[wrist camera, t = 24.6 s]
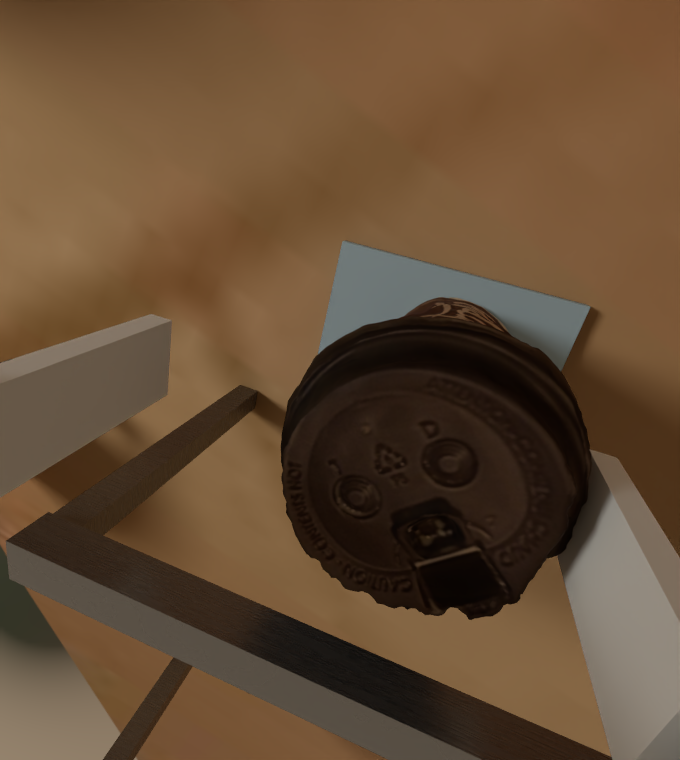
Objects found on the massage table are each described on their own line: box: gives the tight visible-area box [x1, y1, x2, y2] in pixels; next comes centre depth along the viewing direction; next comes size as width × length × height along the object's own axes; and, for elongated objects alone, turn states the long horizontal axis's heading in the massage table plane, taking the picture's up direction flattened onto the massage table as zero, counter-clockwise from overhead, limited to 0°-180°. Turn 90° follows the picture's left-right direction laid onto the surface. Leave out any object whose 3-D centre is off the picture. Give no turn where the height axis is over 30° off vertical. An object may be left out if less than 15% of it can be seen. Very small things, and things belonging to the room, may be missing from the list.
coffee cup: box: [281, 297, 592, 620], centre depth 17 cm, size 9×8×13 cm
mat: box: [318, 241, 590, 371], centre depth 23 cm, size 12×9×1 cm
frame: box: [6, 385, 612, 760], centre depth 22 cm, size 28×22×15 cm
